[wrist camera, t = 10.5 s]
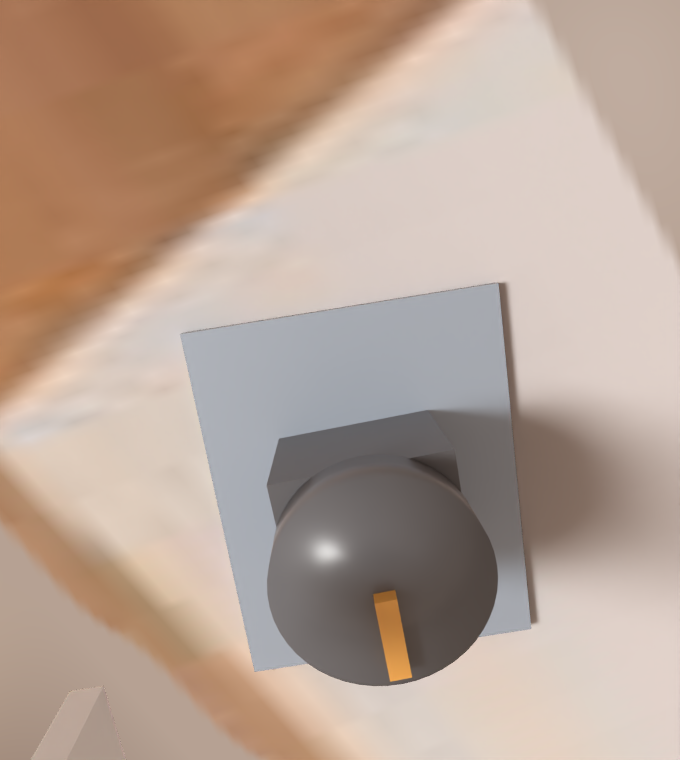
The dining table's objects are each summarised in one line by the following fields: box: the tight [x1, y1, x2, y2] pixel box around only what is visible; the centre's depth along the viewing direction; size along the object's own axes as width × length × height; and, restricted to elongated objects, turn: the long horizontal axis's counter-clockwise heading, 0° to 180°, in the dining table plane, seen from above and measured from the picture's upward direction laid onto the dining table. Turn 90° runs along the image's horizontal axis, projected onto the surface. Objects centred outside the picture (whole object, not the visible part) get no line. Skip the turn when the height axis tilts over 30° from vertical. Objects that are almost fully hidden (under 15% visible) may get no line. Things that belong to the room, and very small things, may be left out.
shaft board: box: [180, 283, 531, 672], centre depth 22 cm, size 16×13×5 cm
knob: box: [267, 410, 498, 686], centre depth 20 cm, size 7×7×8 cm
